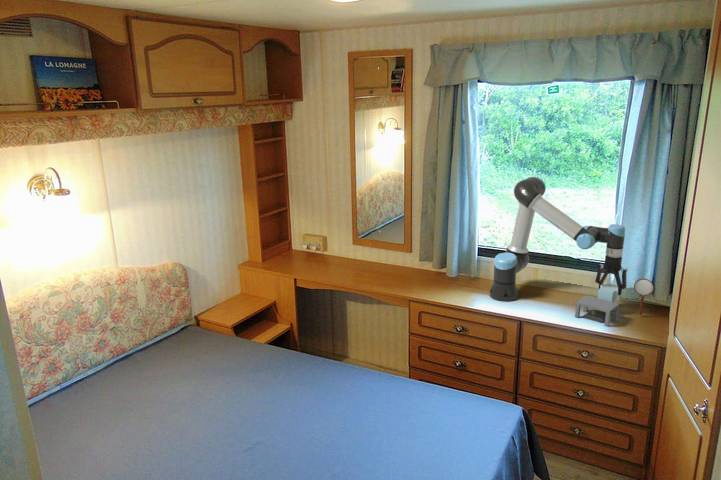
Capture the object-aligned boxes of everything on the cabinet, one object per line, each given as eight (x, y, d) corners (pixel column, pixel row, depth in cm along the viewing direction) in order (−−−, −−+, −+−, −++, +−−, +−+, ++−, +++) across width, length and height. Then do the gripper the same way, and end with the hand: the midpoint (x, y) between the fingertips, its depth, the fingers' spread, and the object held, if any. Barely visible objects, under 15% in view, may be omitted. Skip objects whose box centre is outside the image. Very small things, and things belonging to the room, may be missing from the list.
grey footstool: (574, 317, 262) (576, 301, 260) (584, 310, 270) (586, 295, 268) (607, 326, 252) (609, 310, 249) (617, 319, 259) (619, 303, 257)
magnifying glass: (649, 317, 260) (655, 279, 254) (649, 319, 258) (655, 280, 253) (630, 314, 264) (635, 276, 259) (629, 315, 263) (635, 277, 257)
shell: (606, 293, 275) (607, 283, 273) (620, 297, 270) (621, 286, 269) (597, 300, 267) (598, 289, 265) (611, 304, 262) (612, 292, 261)
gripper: (590, 253, 267) (586, 295, 273) (632, 261, 253) (626, 305, 259) (596, 250, 272) (592, 291, 278) (637, 257, 258) (632, 301, 264)
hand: (608, 298), depth 269 cm, fingers closed on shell, 7 cm apart
